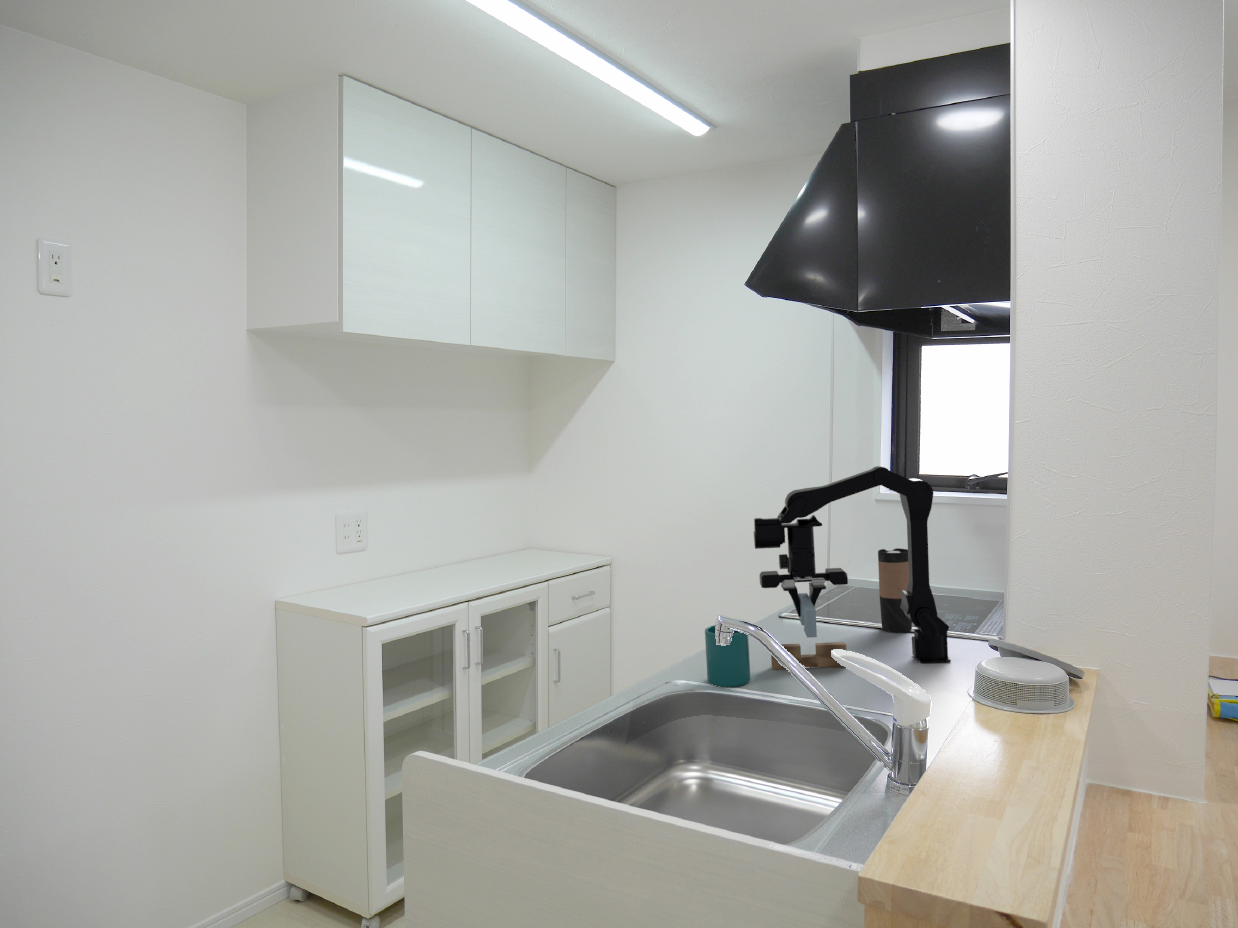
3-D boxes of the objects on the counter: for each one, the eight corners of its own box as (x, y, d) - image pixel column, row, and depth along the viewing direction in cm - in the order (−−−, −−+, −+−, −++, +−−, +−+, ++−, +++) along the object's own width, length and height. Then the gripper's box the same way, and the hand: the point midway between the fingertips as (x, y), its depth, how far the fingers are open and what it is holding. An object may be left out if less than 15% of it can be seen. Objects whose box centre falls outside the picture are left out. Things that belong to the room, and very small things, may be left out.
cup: (765, 674, 176) (762, 623, 176) (736, 690, 167) (733, 636, 167) (729, 669, 182) (726, 619, 182) (699, 684, 173) (696, 631, 172)
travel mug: (902, 634, 201) (899, 553, 200) (875, 630, 207) (871, 551, 206) (918, 628, 206) (915, 549, 205) (891, 624, 212) (887, 547, 211)
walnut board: (845, 664, 180) (844, 641, 180) (847, 667, 178) (845, 644, 178) (771, 666, 182) (770, 644, 181) (772, 669, 180) (771, 646, 179)
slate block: (816, 637, 174) (815, 609, 173) (807, 637, 174) (806, 610, 173) (808, 618, 186) (807, 592, 185) (799, 618, 186) (798, 593, 185)
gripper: (837, 539, 190) (840, 606, 191) (755, 543, 191) (759, 609, 192) (846, 546, 179) (850, 617, 179) (760, 551, 180) (763, 621, 181)
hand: (804, 616), depth 183 cm, fingers closed on slate block, 2 cm apart
